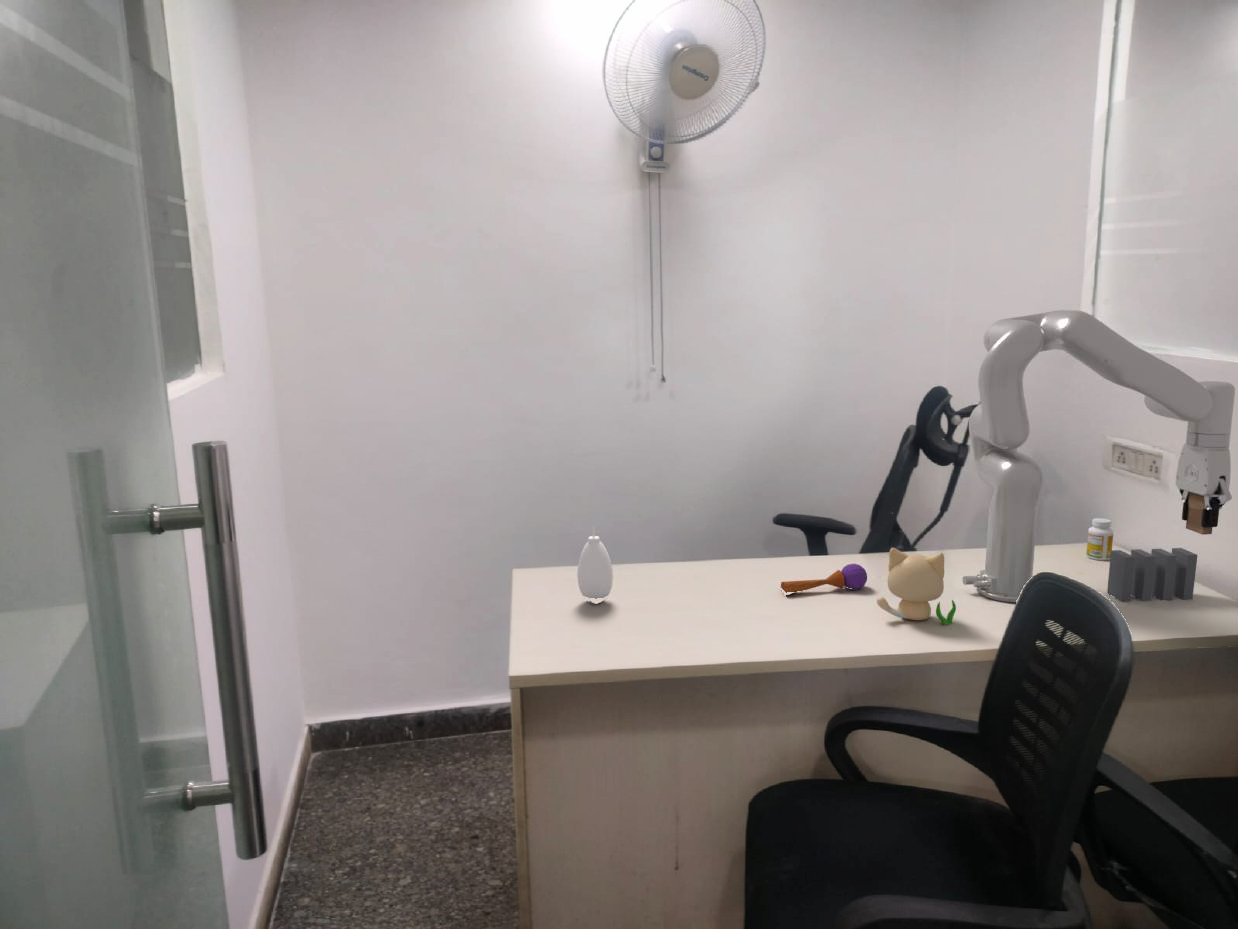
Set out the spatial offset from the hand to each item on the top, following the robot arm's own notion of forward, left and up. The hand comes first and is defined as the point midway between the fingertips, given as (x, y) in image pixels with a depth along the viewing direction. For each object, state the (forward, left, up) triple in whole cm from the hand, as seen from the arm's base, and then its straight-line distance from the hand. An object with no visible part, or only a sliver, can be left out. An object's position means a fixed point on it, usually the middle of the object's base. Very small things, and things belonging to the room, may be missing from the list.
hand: (1199, 522), depth 177 cm
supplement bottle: (-5, +25, -16) cm, 31 cm away
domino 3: (-8, -2, -16) cm, 18 cm away
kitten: (-64, -9, -16) cm, 67 cm away
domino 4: (-4, -2, -16) cm, 16 cm away
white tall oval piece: (-131, +7, -16) cm, 132 cm away
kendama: (-79, +9, -16) cm, 81 cm away
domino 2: (-13, -2, -16) cm, 20 cm away
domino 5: (0, 0, -2) cm, 2 cm away
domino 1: (-17, -2, -16) cm, 23 cm away
